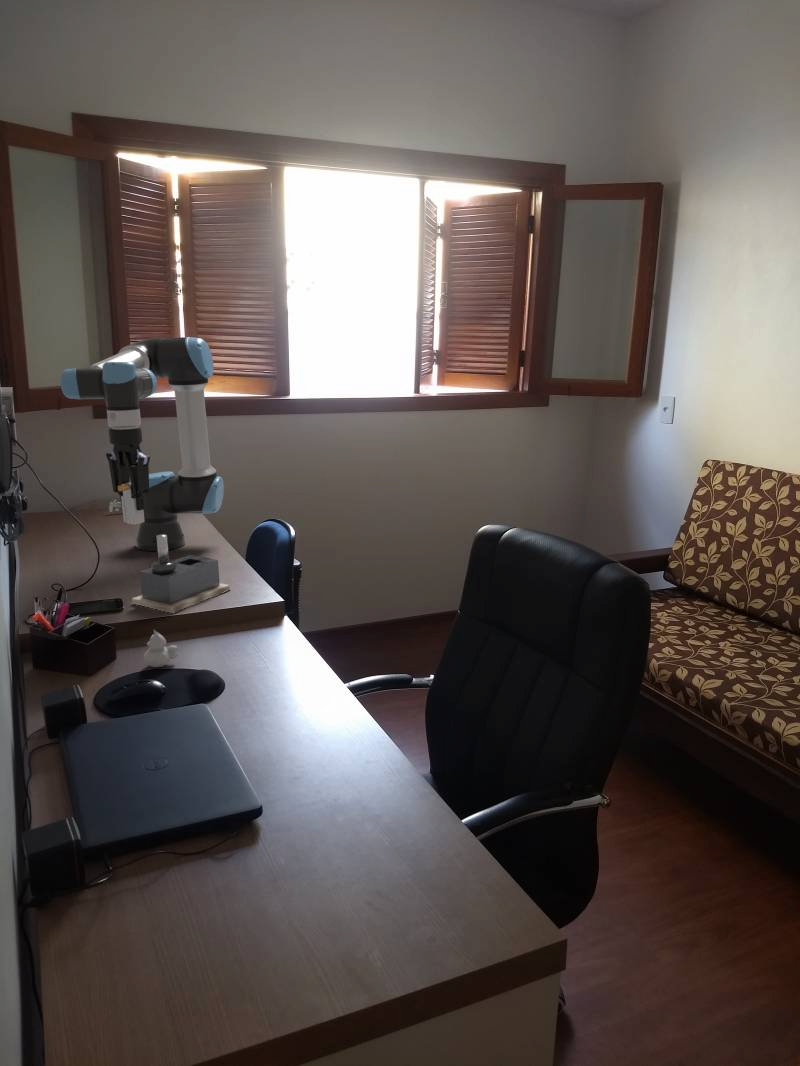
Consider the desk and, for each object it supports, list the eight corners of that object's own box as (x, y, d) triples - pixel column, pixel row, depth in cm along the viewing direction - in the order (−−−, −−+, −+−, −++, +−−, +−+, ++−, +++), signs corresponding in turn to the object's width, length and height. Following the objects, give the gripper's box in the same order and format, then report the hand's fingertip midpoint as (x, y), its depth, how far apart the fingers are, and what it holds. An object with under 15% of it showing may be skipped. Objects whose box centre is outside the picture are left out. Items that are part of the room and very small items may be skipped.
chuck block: (191, 579, 206) (187, 521, 202) (219, 585, 201) (215, 526, 197) (142, 598, 191) (136, 536, 187) (170, 604, 186) (165, 541, 182)
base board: (191, 582, 208) (190, 577, 208) (229, 590, 201) (229, 585, 201) (132, 604, 191) (131, 598, 191) (172, 613, 185) (171, 607, 184)
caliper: (110, 515, 288) (108, 499, 287) (109, 515, 289) (108, 499, 288) (165, 510, 297) (164, 494, 296) (165, 509, 298) (163, 493, 297)
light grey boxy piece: (142, 518, 194) (138, 480, 192) (150, 520, 193) (146, 481, 190) (119, 525, 188) (115, 485, 186) (127, 526, 187) (123, 486, 184)
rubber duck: (144, 662, 157) (140, 626, 155) (177, 657, 159) (174, 621, 157) (145, 673, 152) (142, 635, 150) (180, 667, 154) (177, 630, 152)
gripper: (90, 426, 185) (100, 521, 191) (134, 430, 177) (143, 529, 183) (115, 423, 191) (125, 515, 197) (160, 427, 183) (168, 522, 189)
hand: (134, 521), depth 190 cm, fingers closed on light grey boxy piece, 3 cm apart
